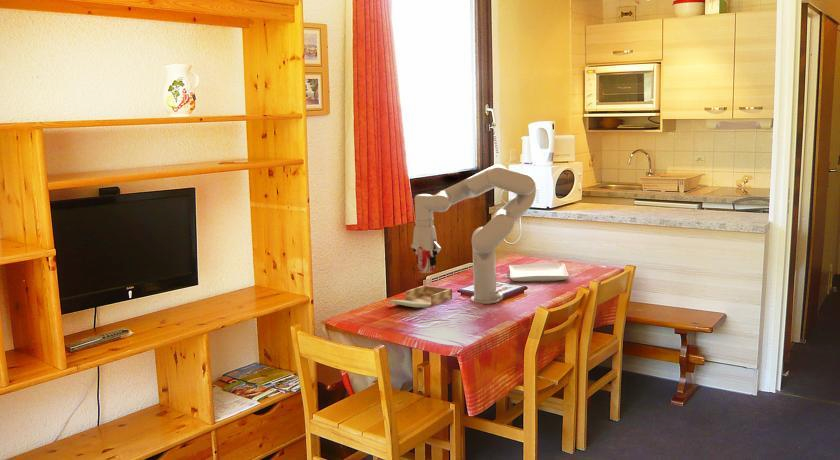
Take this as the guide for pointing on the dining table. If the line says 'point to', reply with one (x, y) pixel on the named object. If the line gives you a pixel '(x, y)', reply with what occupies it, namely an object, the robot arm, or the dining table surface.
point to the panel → (409, 303)
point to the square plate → (538, 272)
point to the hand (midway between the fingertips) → (426, 264)
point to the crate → (429, 295)
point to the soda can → (424, 260)
